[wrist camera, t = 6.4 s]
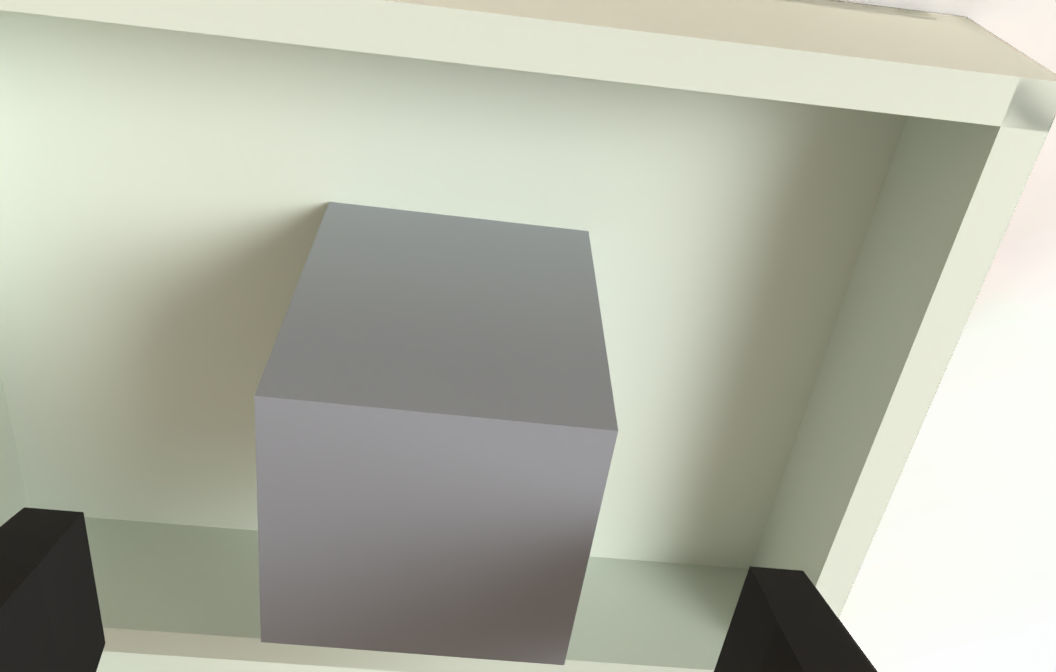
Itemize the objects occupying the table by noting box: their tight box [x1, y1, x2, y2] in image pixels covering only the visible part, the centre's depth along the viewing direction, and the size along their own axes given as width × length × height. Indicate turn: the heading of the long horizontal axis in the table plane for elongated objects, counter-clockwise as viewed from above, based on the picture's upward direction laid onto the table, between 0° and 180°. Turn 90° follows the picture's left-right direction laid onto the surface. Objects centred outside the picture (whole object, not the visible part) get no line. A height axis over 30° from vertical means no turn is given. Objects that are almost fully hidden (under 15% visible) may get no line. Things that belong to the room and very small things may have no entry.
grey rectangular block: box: [254, 202, 618, 665], centre depth 14 cm, size 4×4×5 cm
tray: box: [0, 0, 1056, 672], centre depth 18 cm, size 22×15×3 cm
